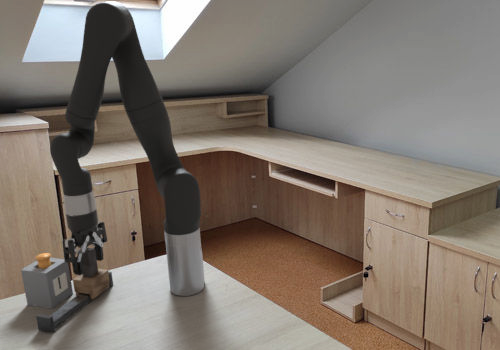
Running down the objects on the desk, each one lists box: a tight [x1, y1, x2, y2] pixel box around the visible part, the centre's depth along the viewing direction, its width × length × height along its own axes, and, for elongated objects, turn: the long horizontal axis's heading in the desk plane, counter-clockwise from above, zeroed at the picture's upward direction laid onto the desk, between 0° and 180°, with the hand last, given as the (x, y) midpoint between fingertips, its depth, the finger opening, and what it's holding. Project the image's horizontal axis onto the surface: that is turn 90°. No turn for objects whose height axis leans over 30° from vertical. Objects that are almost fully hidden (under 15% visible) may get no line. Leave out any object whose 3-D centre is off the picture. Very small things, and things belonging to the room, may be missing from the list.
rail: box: [35, 271, 114, 334], centre depth 122 cm, size 24×4×4 cm, turn 160°
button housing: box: [20, 257, 74, 310], centre depth 125 cm, size 8×9×10 cm
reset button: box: [35, 252, 52, 269], centre depth 124 cm, size 4×4×6 cm
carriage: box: [72, 247, 110, 300], centre depth 126 cm, size 7×6×12 cm
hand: (89, 267), depth 126 cm, fingers open, 8 cm apart
